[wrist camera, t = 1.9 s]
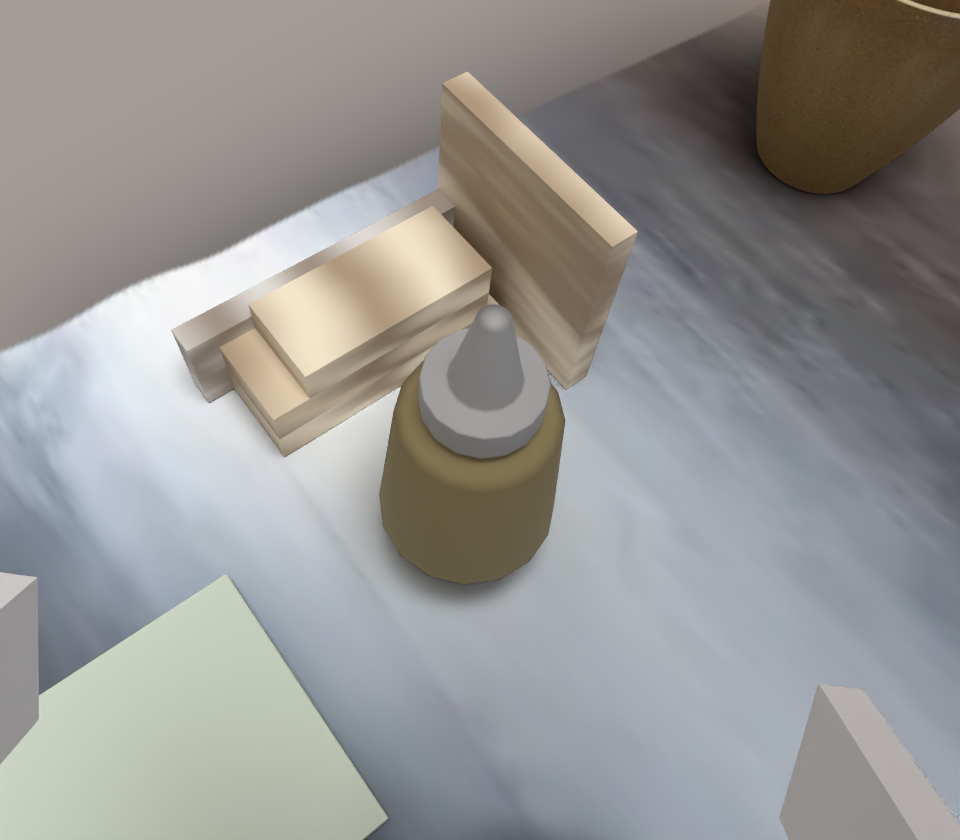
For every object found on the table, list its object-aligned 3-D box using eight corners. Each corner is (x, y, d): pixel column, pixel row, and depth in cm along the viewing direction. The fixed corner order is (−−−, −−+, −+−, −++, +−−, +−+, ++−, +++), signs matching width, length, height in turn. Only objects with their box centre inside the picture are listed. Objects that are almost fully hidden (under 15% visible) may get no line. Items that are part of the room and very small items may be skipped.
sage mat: (229, 580, 39) (226, 573, 39) (388, 819, 35) (388, 817, 34) (-44, 760, 35) (-56, 757, 34) (99, 1059, 31) (90, 1064, 30)
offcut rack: (455, 238, 50) (467, 71, 40) (586, 376, 46) (637, 231, 36) (195, 383, 44) (127, 232, 34) (319, 556, 40) (287, 445, 30)
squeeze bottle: (505, 635, 39) (569, 478, 23) (352, 565, 40) (314, 369, 24) (566, 492, 43) (656, 274, 27) (424, 431, 44) (432, 187, 28)
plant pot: (656, 137, 56) (739, -108, 42) (796, 52, 61) (911, -191, 47) (828, 281, 51) (987, 58, 37) (964, 175, 56) (1148, -56, 42)
